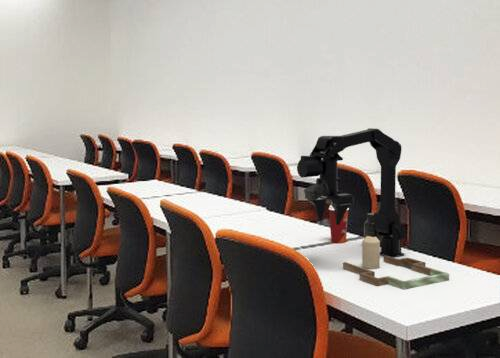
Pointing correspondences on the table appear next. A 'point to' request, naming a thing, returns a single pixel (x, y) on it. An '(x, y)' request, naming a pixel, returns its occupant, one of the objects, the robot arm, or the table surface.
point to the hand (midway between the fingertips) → (328, 222)
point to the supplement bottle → (371, 228)
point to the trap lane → (404, 262)
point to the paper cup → (338, 227)
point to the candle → (370, 252)
